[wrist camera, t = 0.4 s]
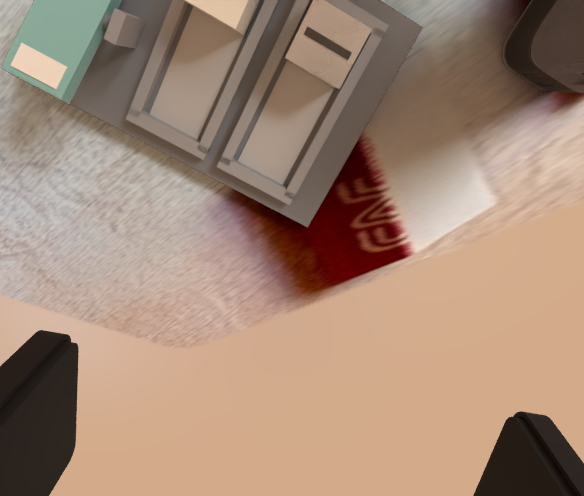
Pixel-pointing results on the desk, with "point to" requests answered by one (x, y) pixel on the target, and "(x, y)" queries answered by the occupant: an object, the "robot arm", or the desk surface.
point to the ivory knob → (228, 11)
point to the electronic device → (549, 45)
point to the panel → (242, 94)
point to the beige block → (327, 43)
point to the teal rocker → (58, 44)
